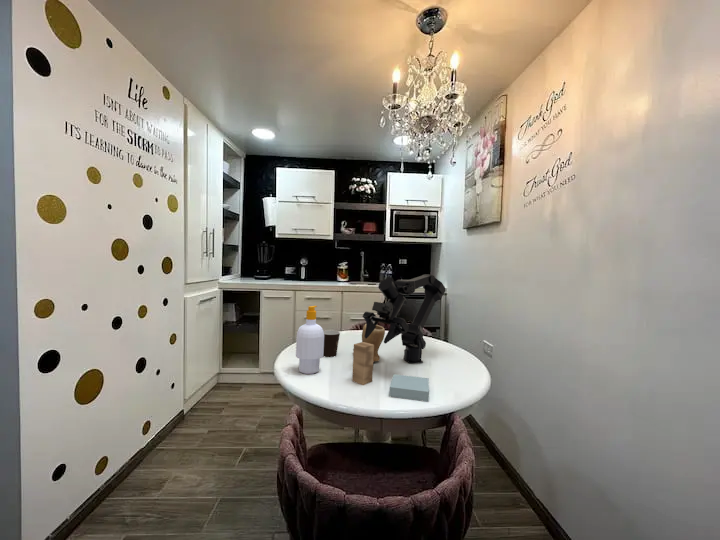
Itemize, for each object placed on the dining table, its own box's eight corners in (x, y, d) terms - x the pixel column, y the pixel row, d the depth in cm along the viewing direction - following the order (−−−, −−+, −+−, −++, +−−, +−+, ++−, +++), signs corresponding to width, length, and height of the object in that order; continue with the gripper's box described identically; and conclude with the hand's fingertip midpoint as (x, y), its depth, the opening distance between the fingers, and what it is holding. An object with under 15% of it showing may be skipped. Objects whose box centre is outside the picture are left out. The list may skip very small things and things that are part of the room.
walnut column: (361, 377, 118) (363, 341, 117) (372, 381, 114) (374, 344, 114) (352, 381, 114) (353, 344, 113) (363, 385, 110) (364, 347, 110)
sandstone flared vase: (386, 364, 134) (388, 327, 134) (358, 364, 132) (359, 327, 132) (378, 353, 149) (379, 320, 149) (352, 353, 147) (353, 320, 147)
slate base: (393, 382, 114) (393, 374, 114) (428, 386, 112) (428, 378, 111) (389, 396, 102) (389, 387, 102) (428, 401, 100) (428, 391, 100)
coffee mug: (331, 359, 137) (332, 335, 137) (315, 355, 141) (316, 332, 141) (346, 352, 147) (347, 330, 147) (330, 349, 152) (331, 328, 151)
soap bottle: (327, 369, 125) (330, 306, 124) (313, 377, 115) (316, 309, 114) (305, 364, 129) (307, 303, 128) (289, 372, 119) (291, 306, 119)
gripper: (365, 291, 129) (345, 323, 122) (404, 296, 116) (384, 332, 109) (378, 308, 135) (360, 339, 128) (416, 314, 123) (398, 350, 115)
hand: (374, 340), depth 120 cm, fingers open, 9 cm apart
